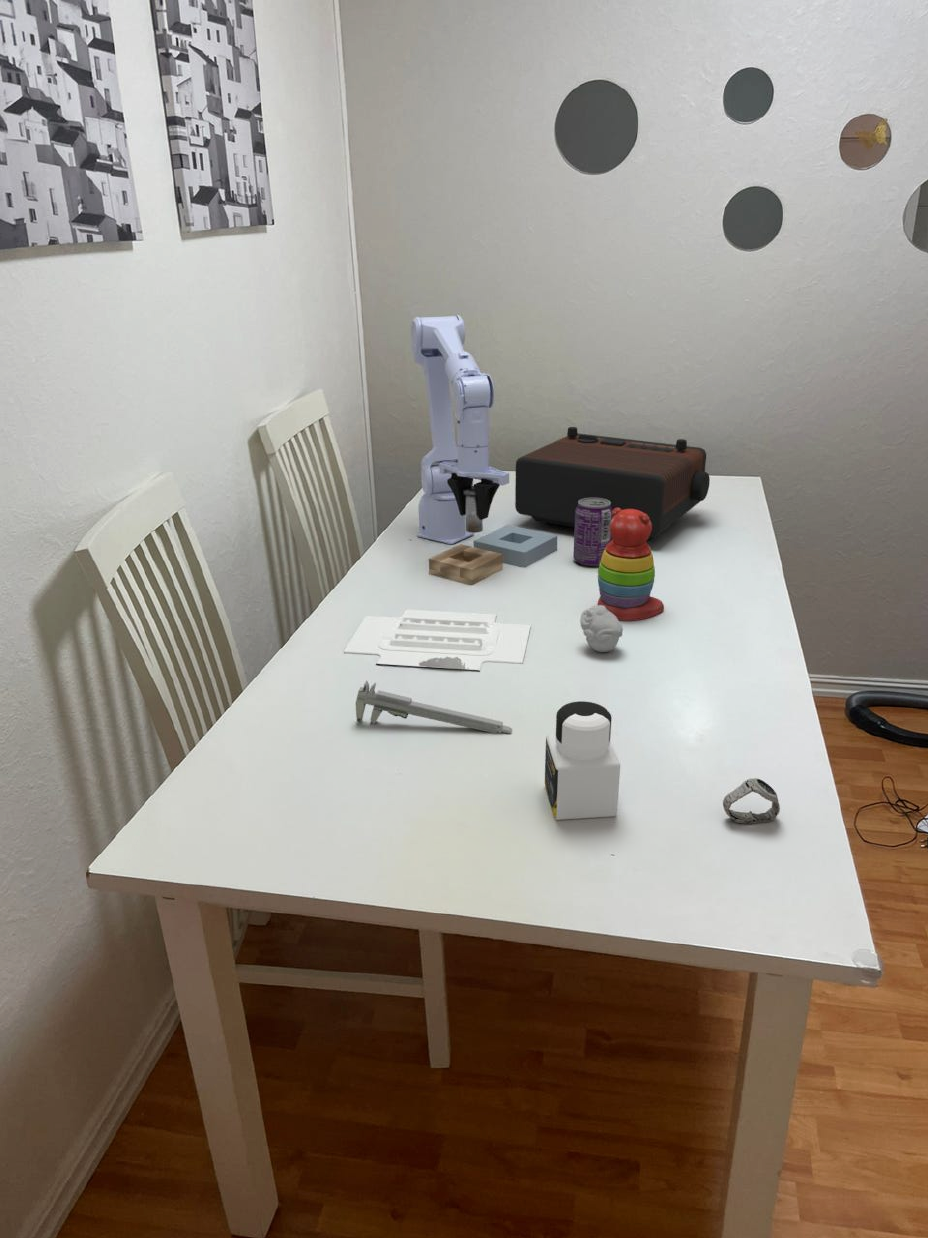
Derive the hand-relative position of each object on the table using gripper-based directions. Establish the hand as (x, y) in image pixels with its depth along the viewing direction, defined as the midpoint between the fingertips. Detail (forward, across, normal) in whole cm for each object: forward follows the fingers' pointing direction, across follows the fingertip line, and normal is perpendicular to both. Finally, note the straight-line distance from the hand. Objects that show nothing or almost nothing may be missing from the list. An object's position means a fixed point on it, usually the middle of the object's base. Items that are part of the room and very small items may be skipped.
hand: (474, 516), depth 167 cm
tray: (+11, +14, -29) cm, 34 cm away
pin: (+3, 0, 0) cm, 3 cm away
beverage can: (+11, +17, +16) cm, 25 cm away
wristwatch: (+10, +71, -45) cm, 85 cm away
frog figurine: (+10, +37, -17) cm, 42 cm away
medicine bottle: (+10, +54, -53) cm, 77 cm away
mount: (+10, 0, -2) cm, 11 cm away
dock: (+10, +2, +12) cm, 16 cm away
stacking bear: (+10, +33, -1) cm, 34 cm away
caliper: (+11, +30, -50) cm, 59 cm away
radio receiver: (+11, +8, +40) cm, 42 cm away
